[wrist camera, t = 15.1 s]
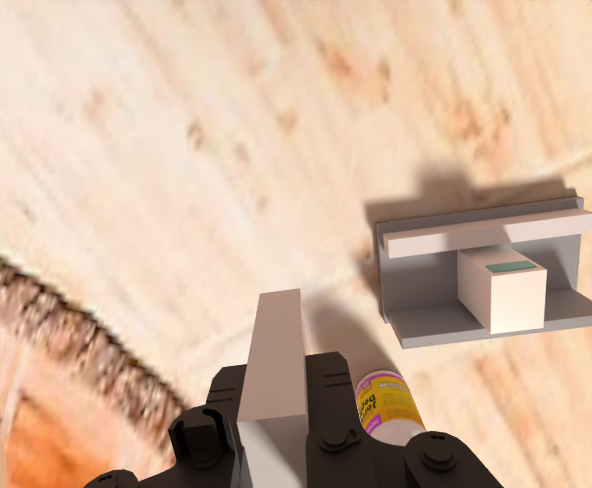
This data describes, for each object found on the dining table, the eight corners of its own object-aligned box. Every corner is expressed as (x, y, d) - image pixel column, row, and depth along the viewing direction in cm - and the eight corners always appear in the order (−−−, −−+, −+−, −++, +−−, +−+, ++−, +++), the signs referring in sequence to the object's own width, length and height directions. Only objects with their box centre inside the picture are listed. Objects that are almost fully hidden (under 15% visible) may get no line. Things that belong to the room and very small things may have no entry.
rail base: (375, 222, 44) (390, 241, 38) (577, 196, 44) (629, 210, 37) (383, 319, 48) (397, 352, 41) (569, 296, 47) (615, 325, 41)
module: (457, 247, 44) (491, 275, 37) (502, 241, 44) (547, 268, 36) (457, 298, 46) (490, 334, 38) (501, 292, 46) (543, 327, 38)
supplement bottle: (363, 363, 50) (386, 443, 38) (413, 373, 50) (452, 456, 38) (348, 406, 52) (365, 496, 39) (397, 416, 52) (429, 508, 40)
